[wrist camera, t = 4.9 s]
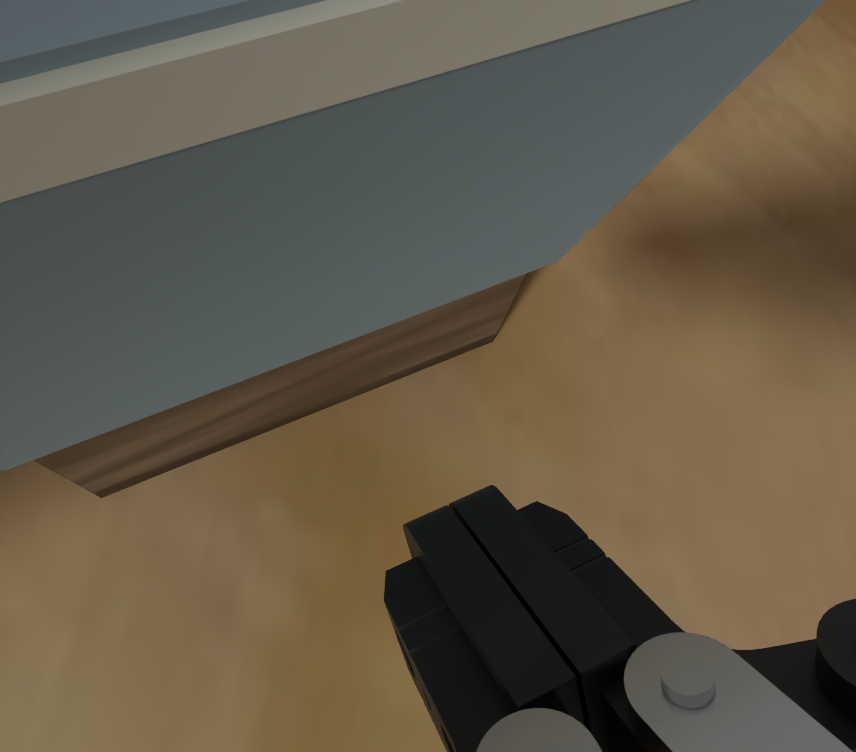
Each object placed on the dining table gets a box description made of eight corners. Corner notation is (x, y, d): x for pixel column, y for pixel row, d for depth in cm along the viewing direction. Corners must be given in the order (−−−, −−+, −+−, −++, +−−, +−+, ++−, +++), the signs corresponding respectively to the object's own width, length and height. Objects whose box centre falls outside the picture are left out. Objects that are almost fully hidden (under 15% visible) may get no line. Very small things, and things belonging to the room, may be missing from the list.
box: (493, 341, 33) (542, 239, 24) (101, 497, 29) (-2, 440, 20) (357, 81, 37) (360, -81, 29) (0, 184, 33) (-120, 29, 25)
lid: (544, 235, 24) (559, 266, 24) (-8, 437, 20) (7, 477, 20) (982, -260, 9) (1029, -178, 9) (-1069, 177, 4) (-1033, 351, 4)
